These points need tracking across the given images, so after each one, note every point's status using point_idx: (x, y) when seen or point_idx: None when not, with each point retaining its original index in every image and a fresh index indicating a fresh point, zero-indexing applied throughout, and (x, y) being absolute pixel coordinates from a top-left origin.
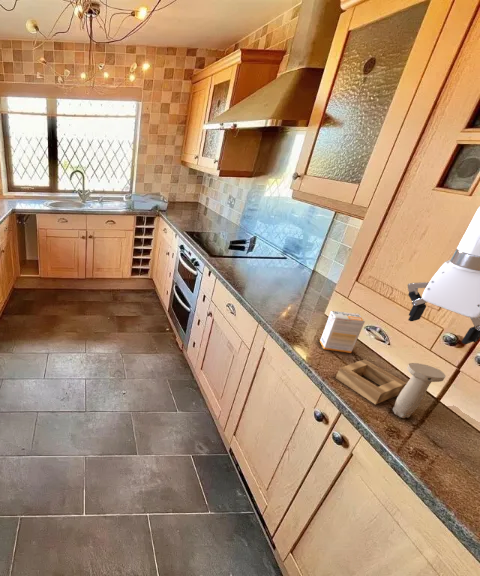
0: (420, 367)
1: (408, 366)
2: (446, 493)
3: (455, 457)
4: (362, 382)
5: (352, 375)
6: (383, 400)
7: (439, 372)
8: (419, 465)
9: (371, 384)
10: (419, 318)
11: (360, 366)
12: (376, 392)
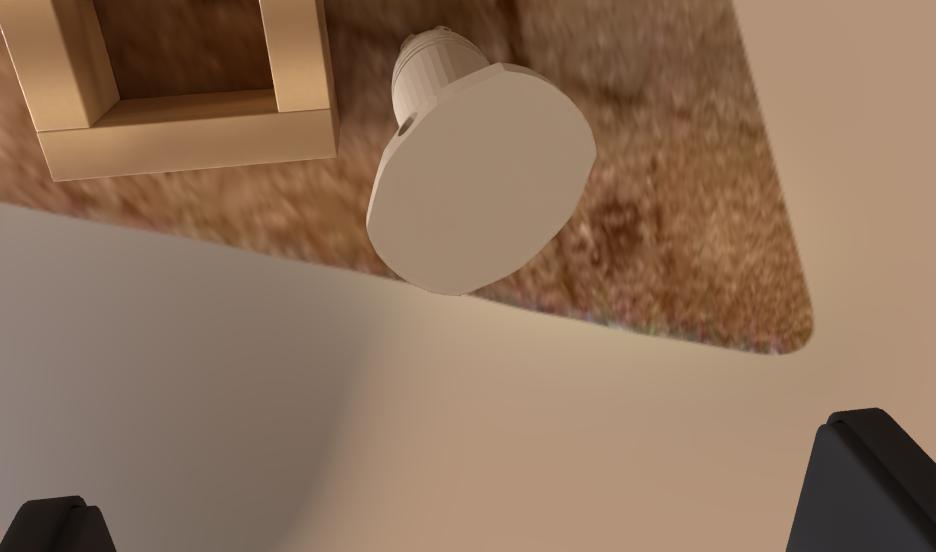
0: (437, 200)
1: (391, 265)
2: (740, 305)
3: (694, 94)
4: (219, 166)
5: (146, 172)
6: (329, 56)
7: (540, 118)
8: (644, 282)
9: (250, 132)
10: (92, 526)
11: (46, 8)
12: (314, 157)
